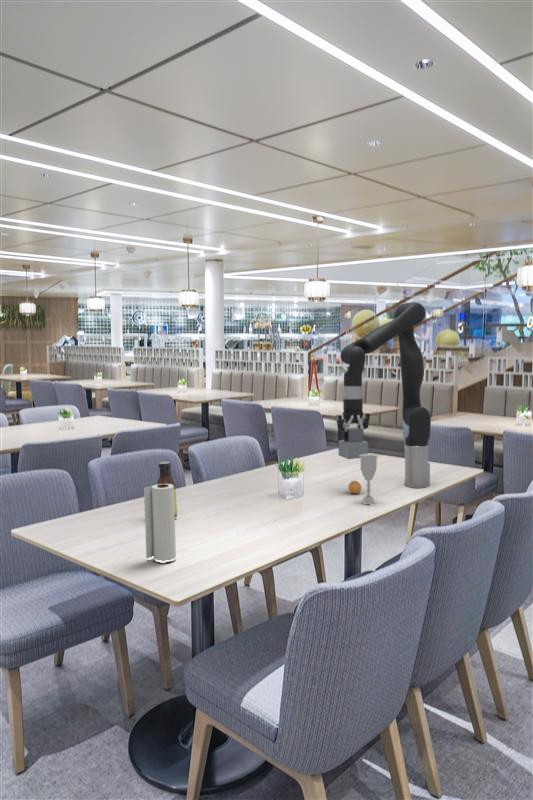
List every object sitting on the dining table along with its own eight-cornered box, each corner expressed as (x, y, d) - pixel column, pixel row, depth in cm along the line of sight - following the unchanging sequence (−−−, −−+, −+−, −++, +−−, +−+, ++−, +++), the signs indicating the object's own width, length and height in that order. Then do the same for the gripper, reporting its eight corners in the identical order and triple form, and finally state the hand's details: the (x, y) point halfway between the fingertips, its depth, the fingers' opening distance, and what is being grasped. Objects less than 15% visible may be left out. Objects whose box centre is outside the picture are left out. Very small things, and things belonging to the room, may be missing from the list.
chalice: (377, 506, 226) (377, 457, 225) (358, 505, 228) (358, 457, 226) (378, 501, 234) (378, 454, 232) (359, 500, 235) (359, 453, 233)
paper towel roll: (180, 558, 175) (177, 483, 173) (168, 565, 170) (166, 488, 168) (158, 555, 178) (156, 481, 176) (146, 562, 172) (143, 486, 170)
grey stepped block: (358, 453, 249) (357, 426, 248) (368, 457, 241) (368, 429, 240) (338, 455, 247) (338, 427, 246) (348, 459, 239) (348, 430, 237)
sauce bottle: (180, 517, 216) (178, 461, 214) (172, 522, 210) (170, 464, 208) (163, 515, 218) (161, 460, 216) (154, 520, 212) (153, 463, 210)
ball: (358, 481, 248) (347, 478, 247) (364, 483, 244) (353, 481, 242) (356, 493, 248) (345, 491, 247) (361, 495, 244) (350, 493, 242)
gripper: (364, 395, 248) (364, 437, 249) (332, 397, 243) (332, 440, 245) (374, 397, 240) (373, 440, 242) (340, 399, 236) (340, 442, 238)
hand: (353, 440), depth 243 cm, fingers closed on grey stepped block, 5 cm apart
